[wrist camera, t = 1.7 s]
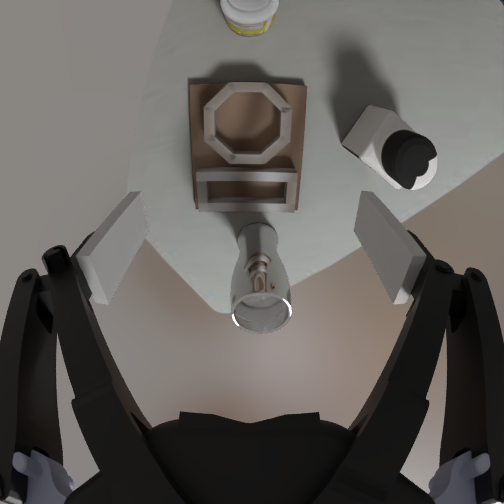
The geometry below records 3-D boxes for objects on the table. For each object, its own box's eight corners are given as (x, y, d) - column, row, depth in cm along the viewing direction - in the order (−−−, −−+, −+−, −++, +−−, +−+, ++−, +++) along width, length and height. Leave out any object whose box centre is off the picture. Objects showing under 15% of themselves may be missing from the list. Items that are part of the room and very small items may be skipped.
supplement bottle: (252, -6, 21) (254, -38, 13) (282, 22, 23) (295, -2, 15) (217, 17, 23) (204, -8, 14) (246, 45, 25) (245, 28, 17)
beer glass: (267, 211, 38) (276, 281, 26) (288, 247, 42) (303, 322, 29) (225, 232, 40) (216, 306, 28) (248, 265, 44) (248, 341, 31)
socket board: (305, 85, 28) (310, 85, 26) (296, 207, 38) (299, 216, 35) (191, 84, 28) (185, 84, 26) (197, 206, 38) (193, 215, 35)
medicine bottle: (339, 144, 33) (377, 172, 23) (367, 103, 29) (416, 116, 19) (376, 172, 35) (419, 209, 25) (403, 135, 31) (454, 160, 21)
